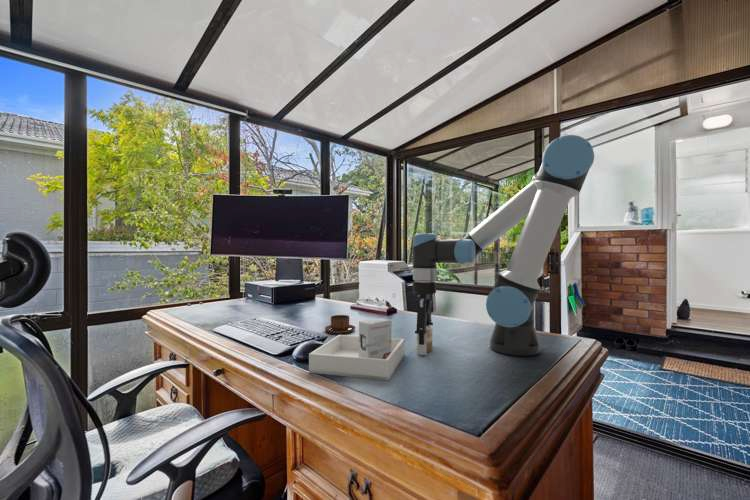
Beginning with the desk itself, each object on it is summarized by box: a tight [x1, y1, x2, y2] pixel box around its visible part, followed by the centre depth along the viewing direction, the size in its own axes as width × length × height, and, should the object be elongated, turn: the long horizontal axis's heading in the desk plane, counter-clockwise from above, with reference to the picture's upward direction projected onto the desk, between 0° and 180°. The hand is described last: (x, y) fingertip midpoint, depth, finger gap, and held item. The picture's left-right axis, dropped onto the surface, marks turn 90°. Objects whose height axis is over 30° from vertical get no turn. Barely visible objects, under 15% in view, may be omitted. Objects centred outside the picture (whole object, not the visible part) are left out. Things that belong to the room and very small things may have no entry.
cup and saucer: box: [324, 314, 356, 335], centre depth 140 cm, size 12×12×6 cm
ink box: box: [358, 317, 393, 359], centre depth 100 cm, size 9×5×12 cm, turn 129°
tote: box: [308, 334, 406, 382], centre depth 101 cm, size 22×22×5 cm
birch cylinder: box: [420, 327, 433, 353], centre depth 114 cm, size 5×5×7 cm
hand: (424, 349), depth 114 cm, fingers open, 10 cm apart
